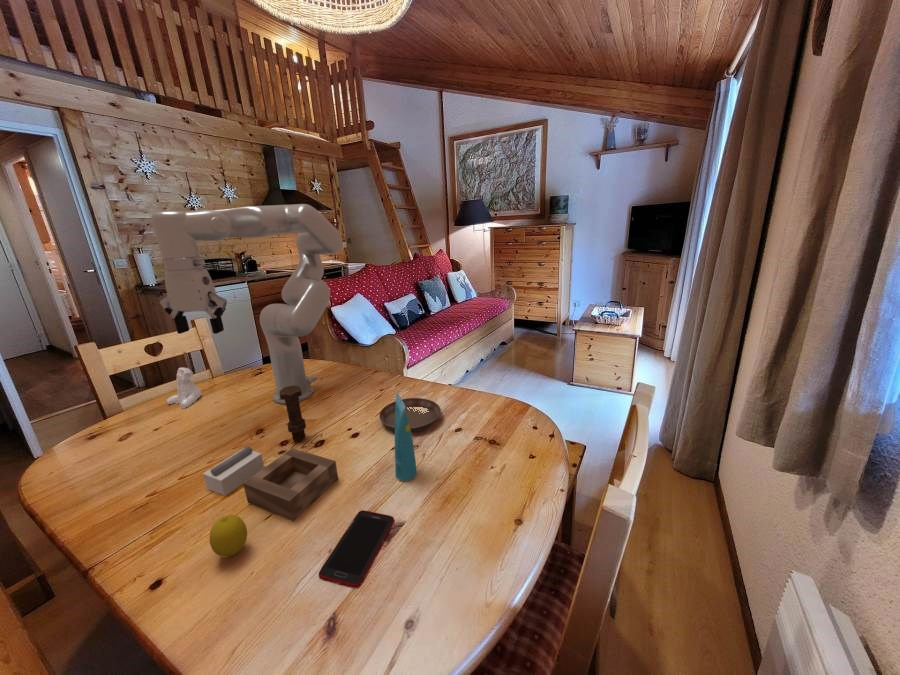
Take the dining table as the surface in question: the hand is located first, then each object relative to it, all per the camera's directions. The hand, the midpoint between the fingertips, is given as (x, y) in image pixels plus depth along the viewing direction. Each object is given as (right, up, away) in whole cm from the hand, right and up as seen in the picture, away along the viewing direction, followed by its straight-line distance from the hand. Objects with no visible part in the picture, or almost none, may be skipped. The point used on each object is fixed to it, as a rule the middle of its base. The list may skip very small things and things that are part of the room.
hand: (201, 332), depth 94 cm
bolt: (+24, -29, +4) cm, 38 cm away
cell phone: (+48, -40, -28) cm, 68 cm away
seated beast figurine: (-24, -23, +28) cm, 43 cm away
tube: (+54, -33, -10) cm, 64 cm away
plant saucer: (+53, -26, +13) cm, 60 cm away
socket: (+30, -35, -14) cm, 48 cm away
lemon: (+25, -40, -29) cm, 56 cm away
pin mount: (+15, -34, -10) cm, 38 cm away
